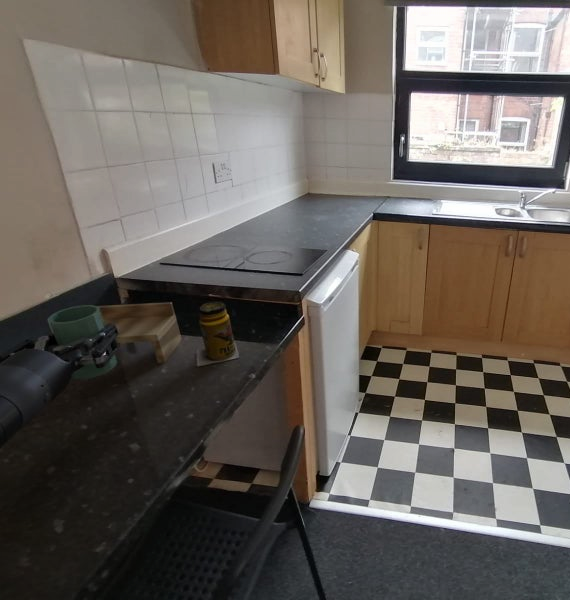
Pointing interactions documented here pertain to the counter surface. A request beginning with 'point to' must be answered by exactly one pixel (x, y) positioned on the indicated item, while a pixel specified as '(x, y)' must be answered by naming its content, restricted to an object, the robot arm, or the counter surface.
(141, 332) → the shelf
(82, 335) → the cup
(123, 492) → the counter surface
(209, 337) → the condiment
